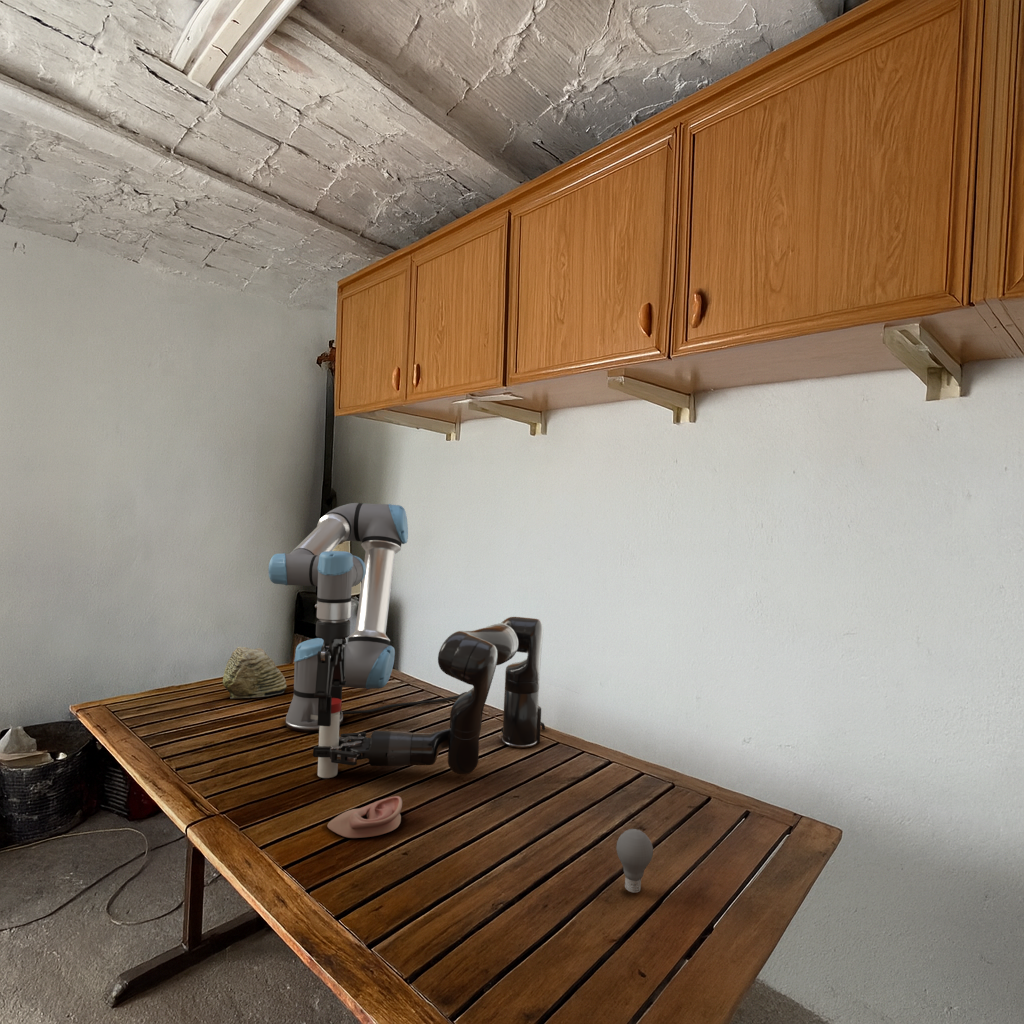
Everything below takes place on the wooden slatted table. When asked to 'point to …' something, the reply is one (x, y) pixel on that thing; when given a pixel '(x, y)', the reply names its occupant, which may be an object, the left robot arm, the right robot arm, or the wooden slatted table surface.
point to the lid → (336, 705)
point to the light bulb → (634, 857)
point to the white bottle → (329, 738)
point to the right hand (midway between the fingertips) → (316, 747)
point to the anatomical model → (369, 819)
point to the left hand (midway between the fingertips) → (329, 719)
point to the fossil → (252, 674)
